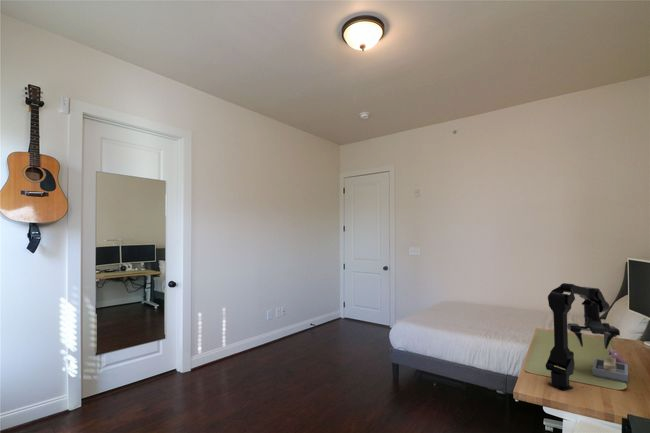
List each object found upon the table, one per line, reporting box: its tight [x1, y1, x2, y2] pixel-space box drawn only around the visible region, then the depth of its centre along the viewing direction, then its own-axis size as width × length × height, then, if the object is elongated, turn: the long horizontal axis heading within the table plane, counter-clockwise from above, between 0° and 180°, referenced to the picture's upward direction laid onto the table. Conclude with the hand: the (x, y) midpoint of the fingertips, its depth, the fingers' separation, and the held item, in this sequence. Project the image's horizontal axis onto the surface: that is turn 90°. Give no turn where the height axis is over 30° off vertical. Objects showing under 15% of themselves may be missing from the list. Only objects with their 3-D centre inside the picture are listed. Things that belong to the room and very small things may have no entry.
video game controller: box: [607, 348, 629, 365], centre depth 168 cm, size 10×5×7 cm, turn 151°
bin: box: [592, 358, 629, 384], centre depth 155 cm, size 15×12×4 cm
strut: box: [603, 356, 617, 372], centre depth 155 cm, size 4×12×5 cm, turn 138°
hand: (593, 347), depth 157 cm, fingers open, 9 cm apart
